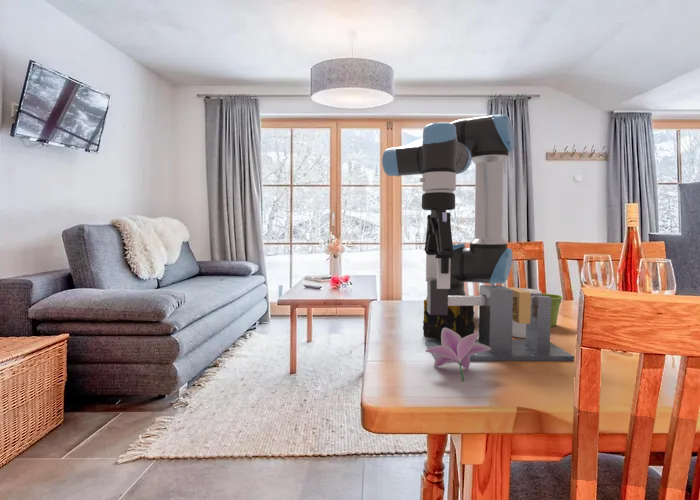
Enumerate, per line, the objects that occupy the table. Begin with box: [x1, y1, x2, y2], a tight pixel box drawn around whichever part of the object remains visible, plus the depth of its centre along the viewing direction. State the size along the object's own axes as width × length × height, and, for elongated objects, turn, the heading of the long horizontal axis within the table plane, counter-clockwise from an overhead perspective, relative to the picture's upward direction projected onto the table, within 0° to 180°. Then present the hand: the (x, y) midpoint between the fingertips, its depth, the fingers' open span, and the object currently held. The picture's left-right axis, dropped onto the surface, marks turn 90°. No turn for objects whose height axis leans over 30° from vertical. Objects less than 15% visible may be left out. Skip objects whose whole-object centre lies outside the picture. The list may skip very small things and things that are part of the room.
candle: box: [422, 299, 476, 339], centre depth 113 cm, size 10×10×10 cm
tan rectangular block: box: [506, 286, 531, 324], centre depth 98 cm, size 8×2×7 cm, turn 0°
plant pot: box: [542, 293, 564, 327], centre depth 127 cm, size 9×9×9 cm
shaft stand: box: [424, 284, 575, 362], centre depth 99 cm, size 14×30×15 cm, turn 90°
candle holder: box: [512, 287, 543, 339], centre depth 115 cm, size 10×10×12 cm
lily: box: [425, 328, 491, 382], centre depth 83 cm, size 12×12×10 cm
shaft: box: [426, 278, 535, 315], centre depth 98 cm, size 4×26×8 cm, turn 90°
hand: (437, 284), depth 98 cm, fingers open, 13 cm apart
